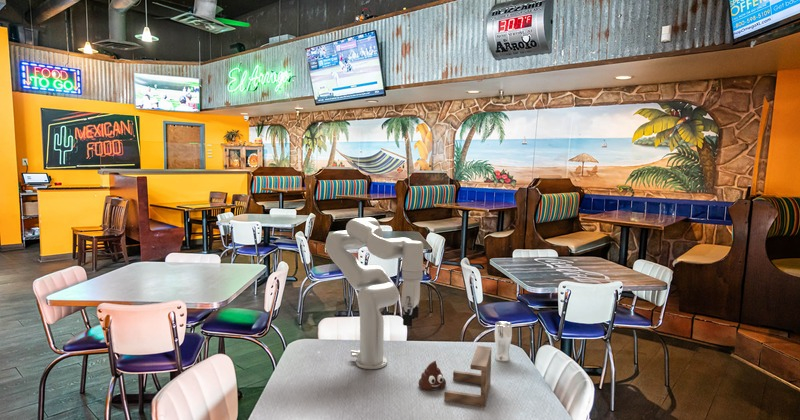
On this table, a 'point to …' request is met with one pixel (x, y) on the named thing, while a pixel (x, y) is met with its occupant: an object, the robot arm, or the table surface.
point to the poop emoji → (432, 378)
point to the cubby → (474, 379)
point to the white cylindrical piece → (503, 340)
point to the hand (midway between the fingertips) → (410, 321)
